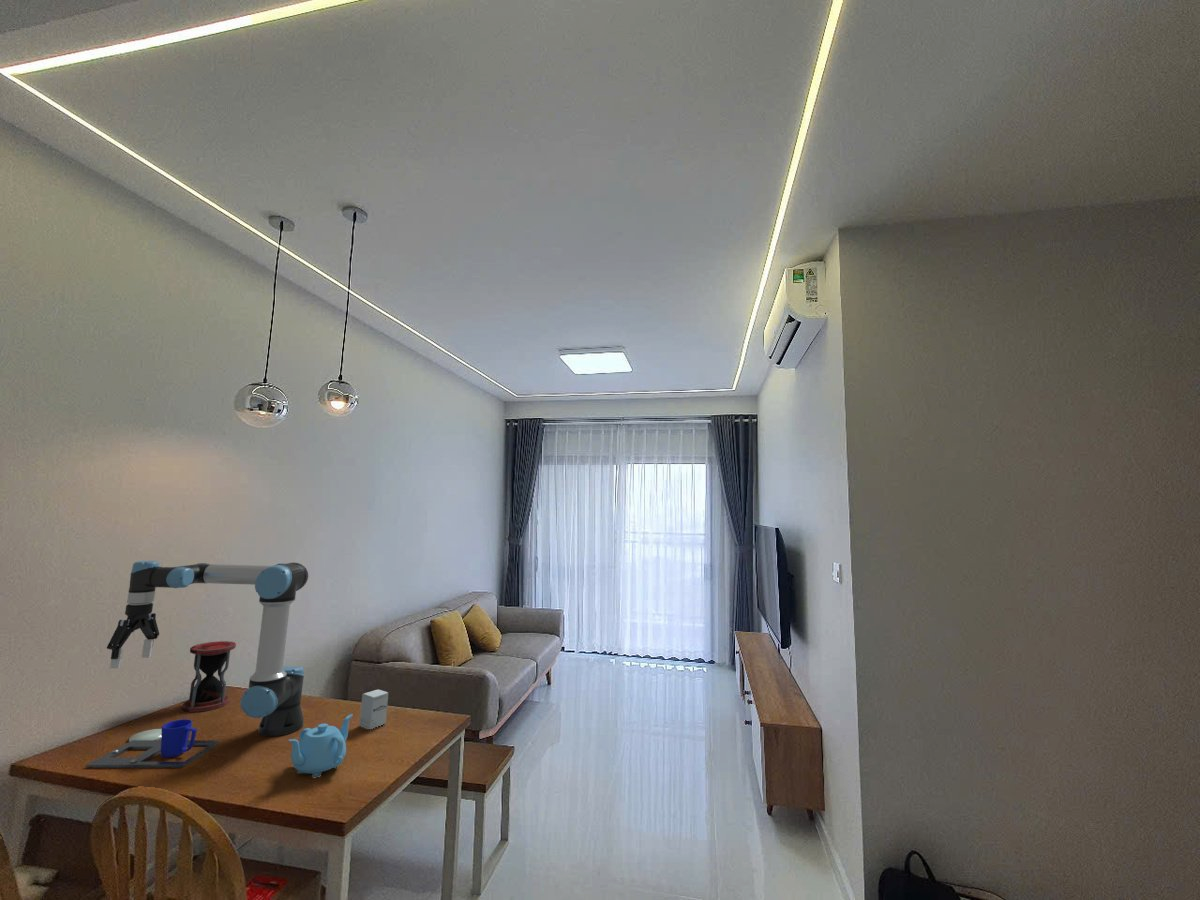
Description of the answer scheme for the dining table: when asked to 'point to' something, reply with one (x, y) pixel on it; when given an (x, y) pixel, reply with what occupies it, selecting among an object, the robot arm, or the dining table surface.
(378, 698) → the supplement box
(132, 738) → the pale grey rounded piece
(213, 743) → the gray cutout board
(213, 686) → the hourglass
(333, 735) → the teapot
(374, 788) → the dining table surface
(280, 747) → the dining table surface
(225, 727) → the dining table surface
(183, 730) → the mug
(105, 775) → the dining table surface
